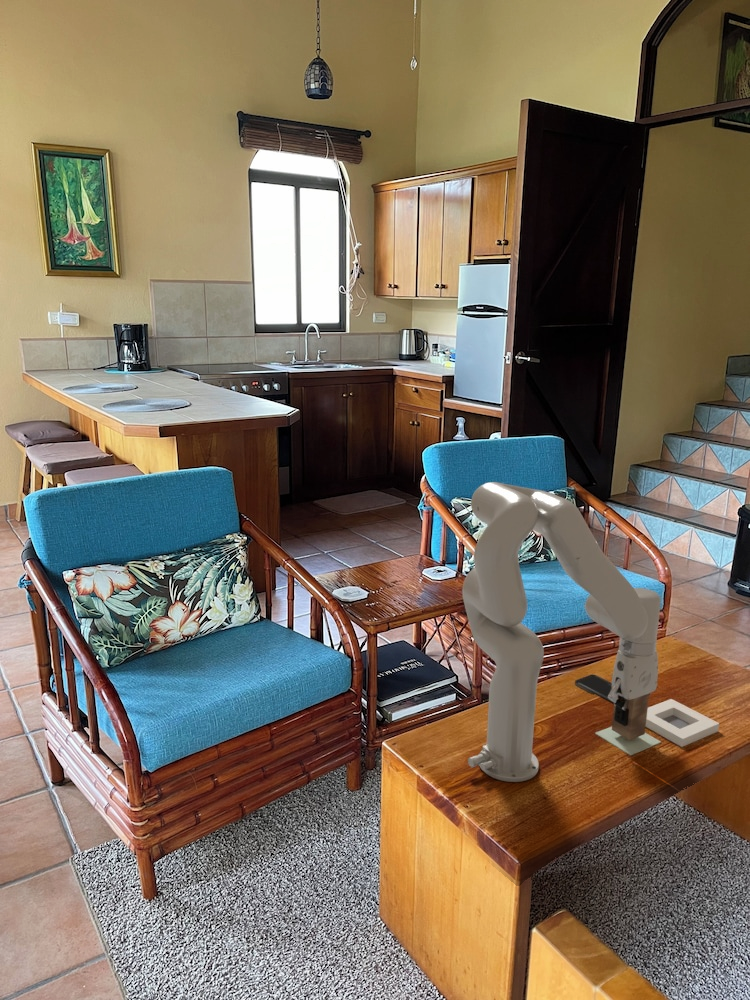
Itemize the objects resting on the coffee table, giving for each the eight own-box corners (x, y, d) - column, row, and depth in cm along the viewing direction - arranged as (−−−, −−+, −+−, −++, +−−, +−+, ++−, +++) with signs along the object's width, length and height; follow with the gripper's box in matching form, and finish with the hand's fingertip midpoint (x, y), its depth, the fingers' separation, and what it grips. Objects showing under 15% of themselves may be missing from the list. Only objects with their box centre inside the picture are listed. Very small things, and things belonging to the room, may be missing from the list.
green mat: (630, 757, 160) (630, 754, 160) (595, 735, 168) (595, 732, 168) (660, 744, 165) (661, 741, 165) (625, 723, 173) (625, 721, 173)
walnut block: (629, 740, 163) (633, 699, 160) (611, 729, 167) (615, 689, 164) (644, 734, 165) (649, 693, 163) (626, 723, 169) (631, 684, 167)
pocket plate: (681, 748, 163) (682, 739, 163) (634, 721, 174) (635, 712, 173) (718, 732, 170) (719, 723, 169) (670, 707, 181) (671, 698, 180)
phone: (620, 706, 180) (573, 681, 192) (619, 710, 180) (572, 684, 192) (641, 697, 184) (593, 673, 196) (640, 701, 184) (593, 677, 196)
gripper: (624, 660, 154) (616, 738, 158) (677, 643, 162) (668, 717, 166) (596, 646, 160) (589, 722, 164) (649, 630, 168) (641, 703, 173)
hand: (629, 719), depth 165 cm, fingers closed on walnut block, 4 cm apart
